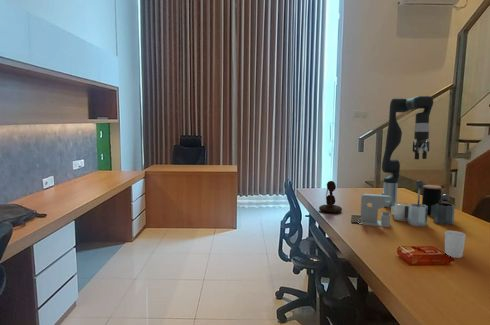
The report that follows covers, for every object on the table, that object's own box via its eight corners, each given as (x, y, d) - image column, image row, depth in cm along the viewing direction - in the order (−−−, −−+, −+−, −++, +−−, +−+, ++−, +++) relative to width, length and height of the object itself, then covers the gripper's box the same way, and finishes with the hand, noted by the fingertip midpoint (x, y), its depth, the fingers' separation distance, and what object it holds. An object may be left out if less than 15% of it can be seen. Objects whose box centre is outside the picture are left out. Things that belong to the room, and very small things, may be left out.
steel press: (401, 223, 207) (402, 204, 206) (407, 220, 214) (408, 202, 212) (422, 227, 199) (423, 208, 198) (428, 224, 205) (429, 205, 204)
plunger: (410, 208, 204) (412, 180, 202) (414, 206, 208) (416, 179, 207) (421, 210, 200) (423, 181, 198) (425, 208, 204) (427, 180, 202)
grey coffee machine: (389, 222, 208) (391, 192, 206) (390, 227, 198) (392, 196, 196) (358, 219, 214) (360, 190, 212) (358, 224, 204) (359, 193, 202)
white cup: (439, 252, 160) (440, 230, 159) (455, 251, 161) (457, 230, 160) (451, 258, 153) (452, 236, 151) (468, 258, 153) (469, 236, 152)
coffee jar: (442, 216, 223) (444, 188, 221) (424, 215, 226) (425, 187, 224) (436, 211, 234) (438, 185, 232) (419, 211, 236) (421, 184, 234)
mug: (407, 218, 218) (408, 204, 217) (407, 221, 211) (408, 206, 210) (391, 216, 222) (391, 202, 221) (390, 219, 215) (391, 205, 214)
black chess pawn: (319, 208, 242) (319, 179, 240) (341, 209, 239) (342, 180, 237) (319, 213, 228) (319, 183, 226) (342, 215, 225) (343, 184, 223)
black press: (428, 221, 210) (429, 193, 208) (433, 219, 216) (435, 191, 214) (450, 226, 202) (452, 196, 200) (454, 222, 208) (456, 194, 206)
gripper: (421, 130, 196) (420, 160, 197) (434, 131, 205) (433, 159, 206) (408, 131, 202) (407, 159, 203) (421, 131, 211) (420, 158, 212)
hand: (420, 159), depth 205 cm, fingers open, 8 cm apart
